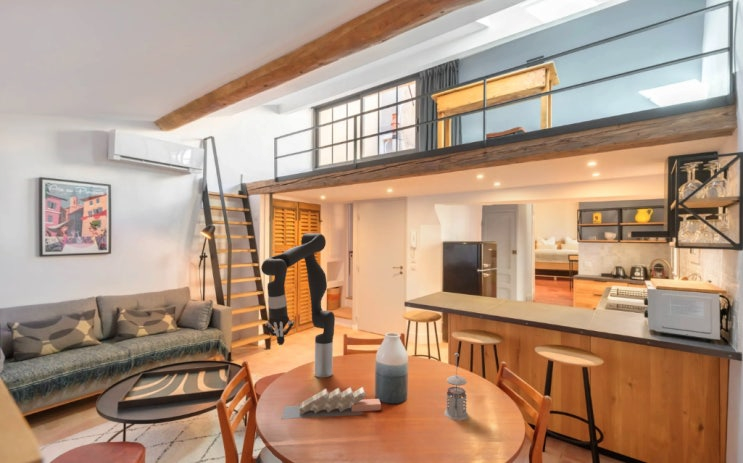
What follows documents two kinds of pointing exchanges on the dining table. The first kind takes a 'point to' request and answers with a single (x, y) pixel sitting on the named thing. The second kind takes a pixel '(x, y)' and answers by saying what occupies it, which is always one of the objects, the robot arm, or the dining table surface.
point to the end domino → (366, 405)
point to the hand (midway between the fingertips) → (281, 344)
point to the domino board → (296, 413)
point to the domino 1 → (314, 401)
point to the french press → (456, 398)
